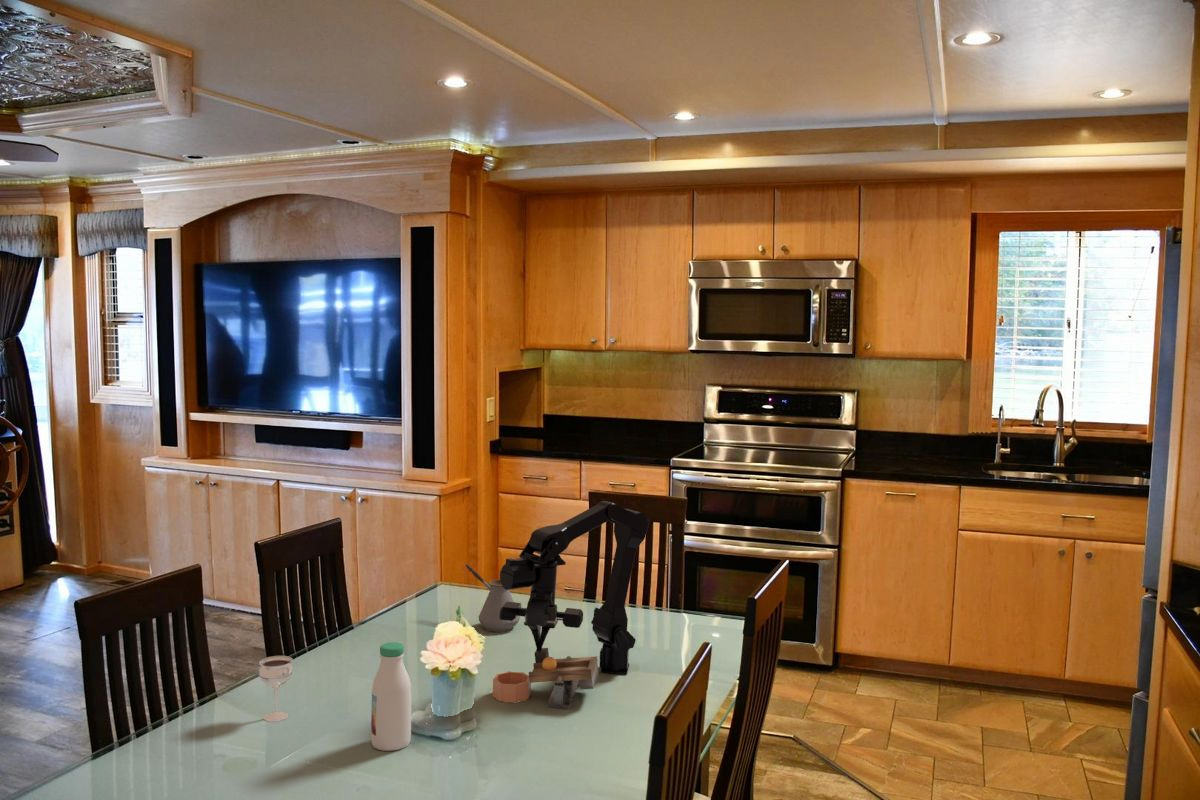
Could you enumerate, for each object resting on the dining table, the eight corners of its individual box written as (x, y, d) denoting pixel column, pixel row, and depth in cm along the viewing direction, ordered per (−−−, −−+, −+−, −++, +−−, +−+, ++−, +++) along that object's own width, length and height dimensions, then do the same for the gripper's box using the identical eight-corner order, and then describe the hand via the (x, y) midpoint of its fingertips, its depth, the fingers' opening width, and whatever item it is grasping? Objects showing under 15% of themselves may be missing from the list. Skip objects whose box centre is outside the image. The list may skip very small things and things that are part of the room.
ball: (543, 668, 208) (557, 668, 208) (541, 673, 205) (555, 673, 205) (543, 654, 208) (557, 654, 208) (540, 659, 205) (554, 659, 204)
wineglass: (261, 725, 189) (261, 669, 188) (256, 713, 195) (256, 658, 194) (295, 720, 192) (295, 664, 191) (290, 708, 198) (290, 653, 197)
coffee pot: (528, 628, 255) (529, 575, 254) (496, 637, 247) (497, 582, 246) (480, 610, 270) (480, 560, 269) (448, 618, 262) (449, 567, 261)
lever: (599, 669, 215) (596, 641, 214) (591, 692, 201) (588, 663, 200) (540, 672, 216) (537, 645, 216) (529, 696, 202) (526, 666, 202)
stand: (578, 683, 216) (579, 662, 216) (569, 709, 201) (569, 686, 201) (558, 681, 217) (558, 660, 216) (547, 707, 202) (547, 684, 201)
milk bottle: (418, 738, 185) (419, 641, 183) (397, 754, 178) (398, 654, 176) (385, 732, 187) (385, 636, 186) (363, 748, 180) (364, 648, 179)
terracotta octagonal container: (532, 689, 211) (533, 672, 211) (525, 703, 203) (526, 686, 203) (498, 687, 212) (498, 670, 212) (490, 701, 204) (490, 683, 204)
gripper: (495, 590, 204) (491, 658, 205) (578, 598, 202) (573, 667, 203) (506, 577, 215) (502, 641, 216) (585, 585, 213) (580, 650, 214)
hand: (539, 650), depth 212 cm, fingers closed, pressing on lever
